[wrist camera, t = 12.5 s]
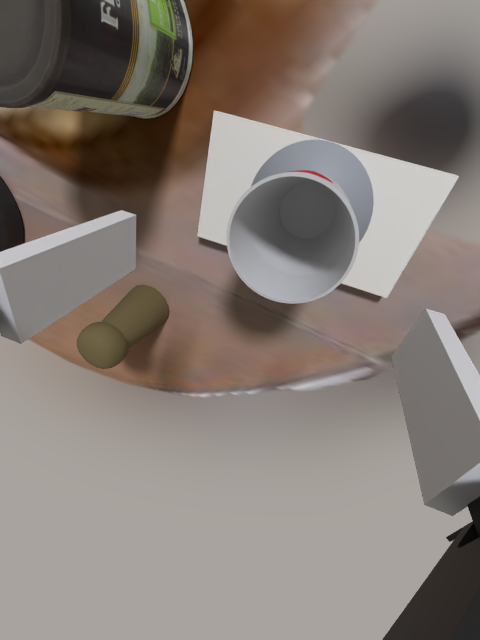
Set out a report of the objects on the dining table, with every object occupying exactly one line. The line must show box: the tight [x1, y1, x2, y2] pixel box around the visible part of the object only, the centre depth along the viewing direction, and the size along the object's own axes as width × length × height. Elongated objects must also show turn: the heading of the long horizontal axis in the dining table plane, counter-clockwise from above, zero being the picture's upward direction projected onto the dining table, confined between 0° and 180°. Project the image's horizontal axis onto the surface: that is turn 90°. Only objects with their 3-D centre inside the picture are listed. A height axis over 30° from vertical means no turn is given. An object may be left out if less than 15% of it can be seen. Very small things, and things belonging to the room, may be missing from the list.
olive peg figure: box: [77, 285, 169, 369], centre depth 35 cm, size 6×6×11 cm
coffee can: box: [0, 0, 193, 119], centre depth 19 cm, size 10×10×14 cm
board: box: [197, 111, 459, 298], centre depth 27 cm, size 20×11×2 cm, turn 77°
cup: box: [227, 170, 359, 304], centre depth 22 cm, size 8×8×10 cm
